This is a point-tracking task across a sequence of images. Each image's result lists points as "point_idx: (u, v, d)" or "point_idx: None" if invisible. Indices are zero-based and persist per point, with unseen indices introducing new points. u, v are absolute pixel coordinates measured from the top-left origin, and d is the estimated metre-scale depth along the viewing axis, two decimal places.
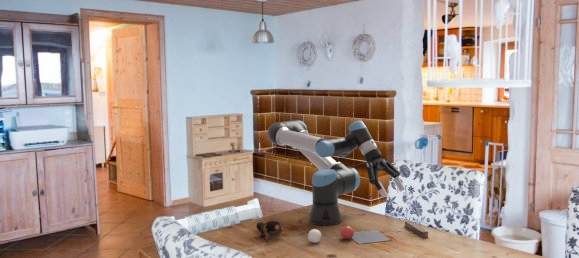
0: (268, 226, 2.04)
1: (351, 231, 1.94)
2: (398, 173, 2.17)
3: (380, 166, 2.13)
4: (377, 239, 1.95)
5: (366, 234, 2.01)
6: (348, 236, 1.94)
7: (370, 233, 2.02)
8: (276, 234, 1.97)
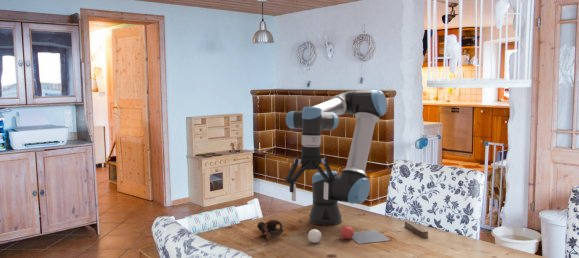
0: (269, 226, 2.05)
1: (351, 231, 1.94)
2: (332, 180, 1.89)
3: (310, 167, 1.86)
4: (377, 239, 1.95)
5: (366, 234, 2.01)
6: (348, 236, 1.94)
7: (370, 233, 2.02)
8: (277, 234, 1.97)
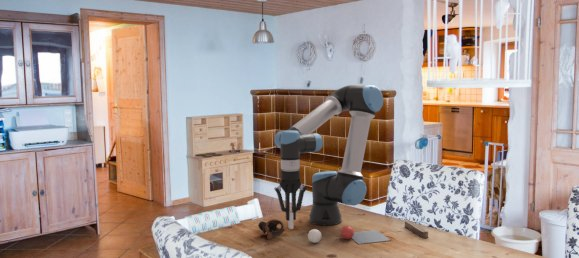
0: (270, 225, 2.05)
1: (351, 231, 1.94)
2: (297, 208, 1.89)
3: None
4: (377, 239, 1.95)
5: (366, 234, 2.01)
6: (348, 236, 1.94)
7: (370, 233, 2.02)
8: (278, 233, 1.98)
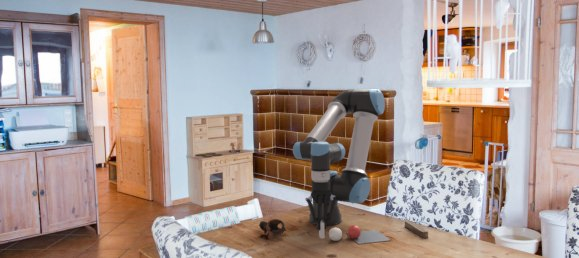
0: (271, 225, 2.06)
1: (359, 234, 1.95)
2: (328, 217, 1.93)
3: None
4: (377, 239, 1.95)
5: (366, 234, 2.01)
6: (354, 234, 1.94)
7: (370, 233, 2.02)
8: (279, 233, 1.98)
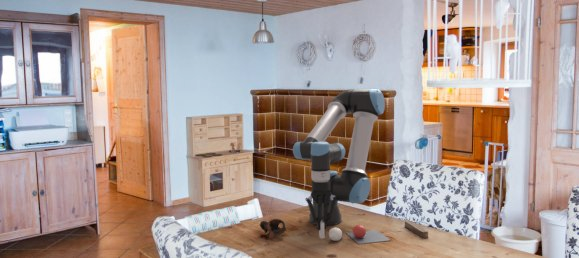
0: (271, 225, 2.06)
1: (362, 236, 1.96)
2: (328, 217, 1.93)
3: None
4: (377, 239, 1.95)
5: (366, 234, 2.01)
6: (360, 231, 1.95)
7: (370, 233, 2.02)
8: (280, 232, 1.99)
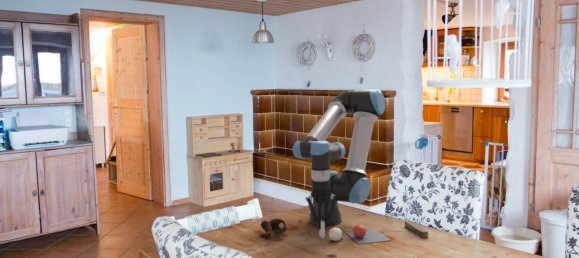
0: (272, 224, 2.06)
1: (362, 236, 1.96)
2: (328, 217, 1.93)
3: None
4: (377, 239, 1.95)
5: (366, 234, 2.01)
6: (360, 231, 1.95)
7: (370, 233, 2.02)
8: (281, 232, 1.99)
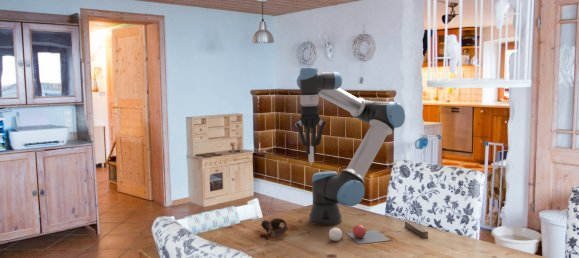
0: (273, 224, 2.07)
1: (362, 236, 1.96)
2: (317, 142, 1.97)
3: None
4: (377, 239, 1.95)
5: (366, 234, 2.01)
6: (360, 231, 1.95)
7: (370, 233, 2.02)
8: (282, 232, 2.00)
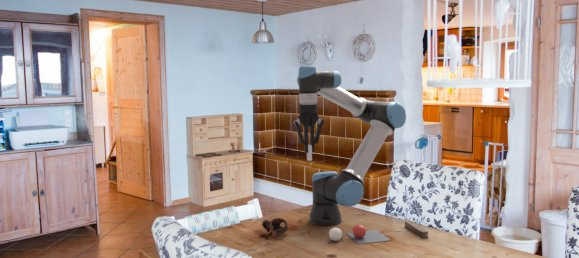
0: (273, 224, 2.07)
1: (362, 236, 1.96)
2: (315, 140, 1.97)
3: (308, 123, 1.96)
4: (377, 239, 1.95)
5: (366, 234, 2.01)
6: (360, 231, 1.95)
7: (370, 233, 2.02)
8: (282, 231, 2.00)
